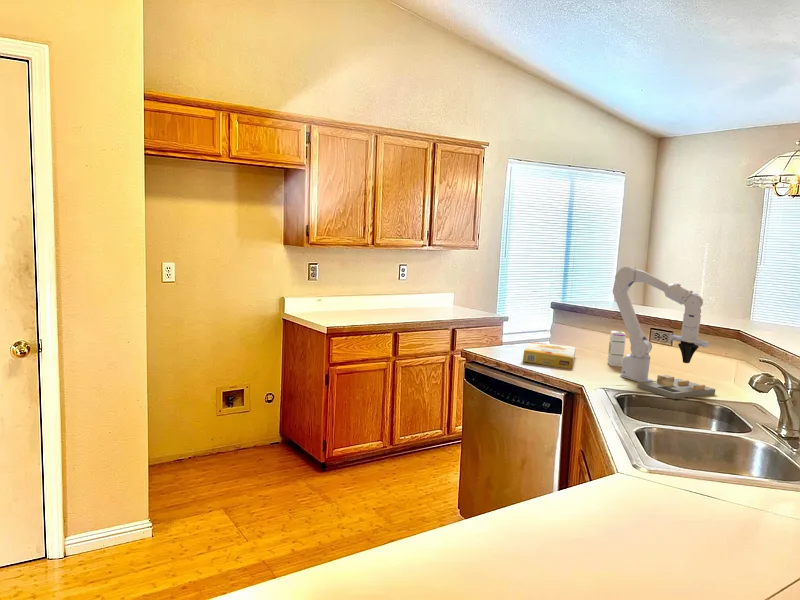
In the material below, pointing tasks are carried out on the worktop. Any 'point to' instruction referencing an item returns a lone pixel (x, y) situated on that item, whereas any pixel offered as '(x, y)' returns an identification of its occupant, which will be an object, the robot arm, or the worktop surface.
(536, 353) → the cereal box
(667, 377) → the birch block
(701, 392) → the board
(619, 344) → the syrup box
